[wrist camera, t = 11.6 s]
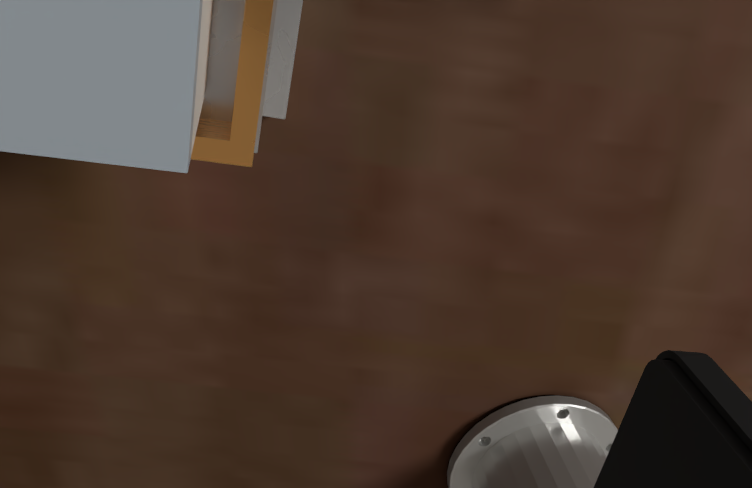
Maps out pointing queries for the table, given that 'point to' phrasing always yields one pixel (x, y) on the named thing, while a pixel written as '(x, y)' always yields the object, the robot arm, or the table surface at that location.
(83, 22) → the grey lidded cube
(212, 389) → the table surface
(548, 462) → the robot arm
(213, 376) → the table surface
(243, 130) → the grey and orange container
